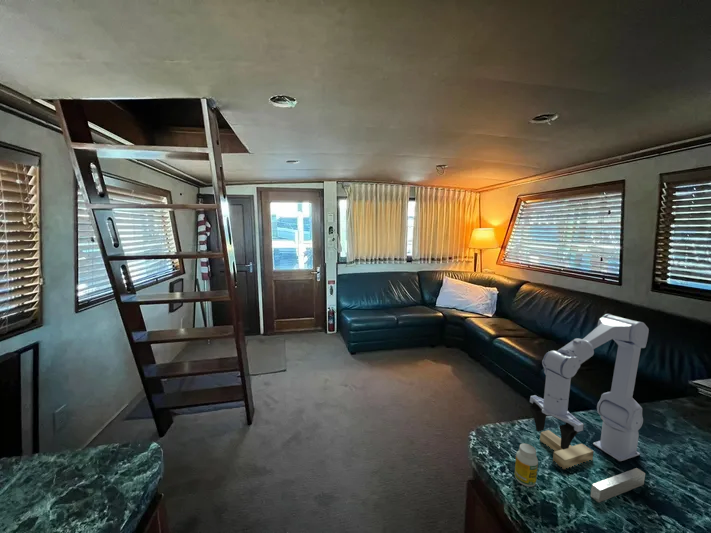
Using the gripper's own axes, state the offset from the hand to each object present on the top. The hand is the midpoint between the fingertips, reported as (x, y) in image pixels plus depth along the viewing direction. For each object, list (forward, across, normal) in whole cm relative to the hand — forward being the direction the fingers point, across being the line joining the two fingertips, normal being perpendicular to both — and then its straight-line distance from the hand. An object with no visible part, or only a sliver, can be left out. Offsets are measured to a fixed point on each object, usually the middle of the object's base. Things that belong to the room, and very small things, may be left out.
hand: (551, 438), depth 87 cm
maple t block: (+10, -5, +11) cm, 15 cm away
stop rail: (+10, +11, +12) cm, 19 cm away
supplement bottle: (+10, 0, -9) cm, 14 cm away
